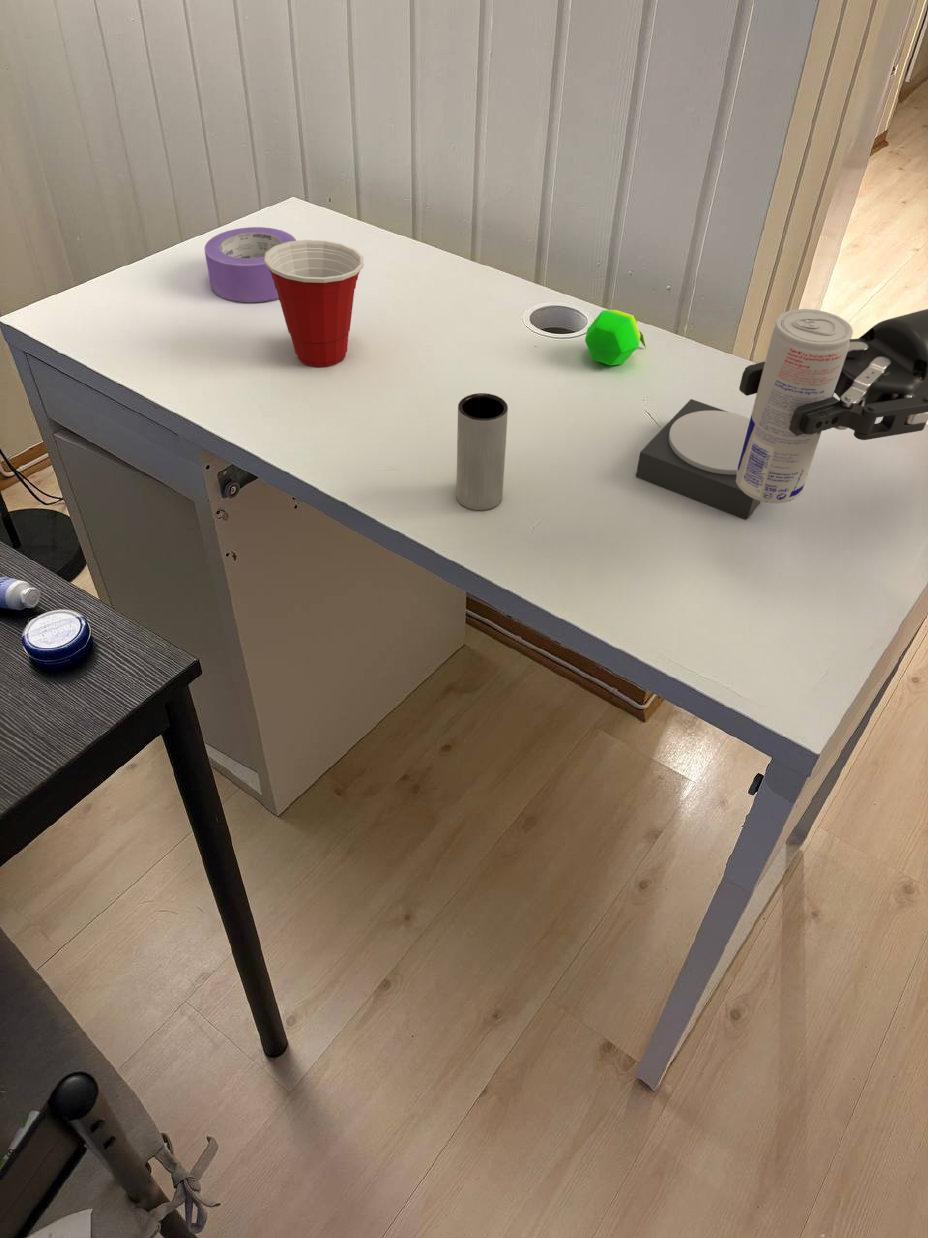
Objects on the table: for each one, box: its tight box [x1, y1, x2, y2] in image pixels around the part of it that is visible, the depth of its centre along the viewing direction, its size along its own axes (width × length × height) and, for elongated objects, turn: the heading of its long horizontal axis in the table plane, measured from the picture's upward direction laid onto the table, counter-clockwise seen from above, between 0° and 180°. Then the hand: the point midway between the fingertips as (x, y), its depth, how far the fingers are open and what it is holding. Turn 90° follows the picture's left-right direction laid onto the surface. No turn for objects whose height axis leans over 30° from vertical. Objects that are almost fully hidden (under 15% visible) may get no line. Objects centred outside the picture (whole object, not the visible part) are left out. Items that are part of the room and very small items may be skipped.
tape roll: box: [204, 226, 297, 303], centre depth 123 cm, size 12×12×5 cm
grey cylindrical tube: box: [455, 392, 509, 511], centre depth 90 cm, size 4×4×10 cm
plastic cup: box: [264, 239, 365, 368], centre depth 108 cm, size 11×11×12 cm
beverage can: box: [735, 308, 854, 504], centre depth 76 cm, size 6×6×15 cm
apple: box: [584, 309, 647, 366], centre depth 111 cm, size 7×6×9 cm
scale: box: [635, 398, 762, 521], centre depth 96 cm, size 12×12×4 cm
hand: (769, 402), depth 74 cm, fingers closed on beverage can, 5 cm apart
